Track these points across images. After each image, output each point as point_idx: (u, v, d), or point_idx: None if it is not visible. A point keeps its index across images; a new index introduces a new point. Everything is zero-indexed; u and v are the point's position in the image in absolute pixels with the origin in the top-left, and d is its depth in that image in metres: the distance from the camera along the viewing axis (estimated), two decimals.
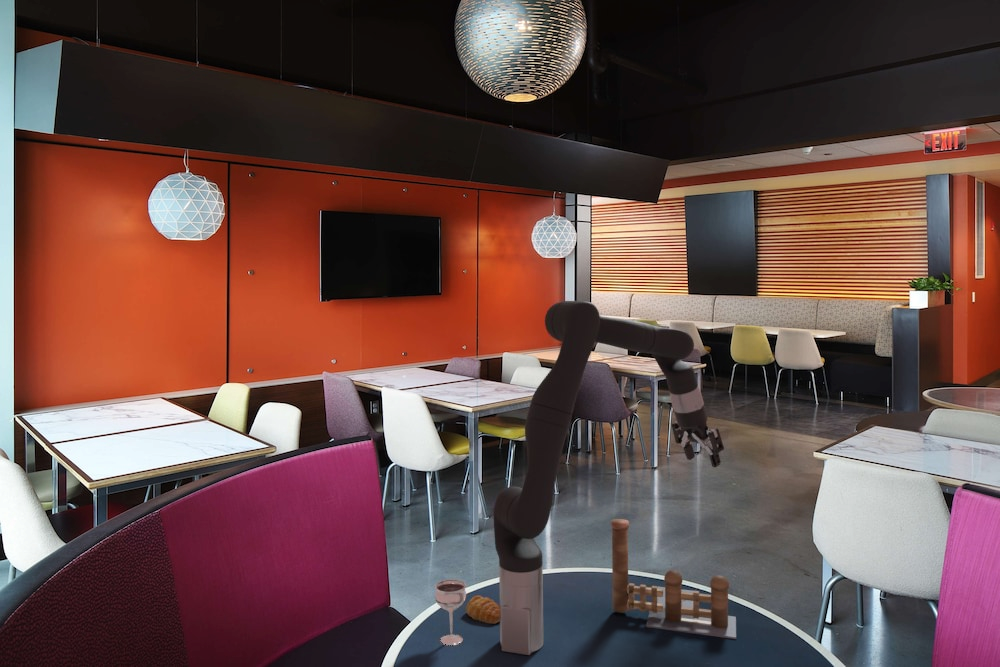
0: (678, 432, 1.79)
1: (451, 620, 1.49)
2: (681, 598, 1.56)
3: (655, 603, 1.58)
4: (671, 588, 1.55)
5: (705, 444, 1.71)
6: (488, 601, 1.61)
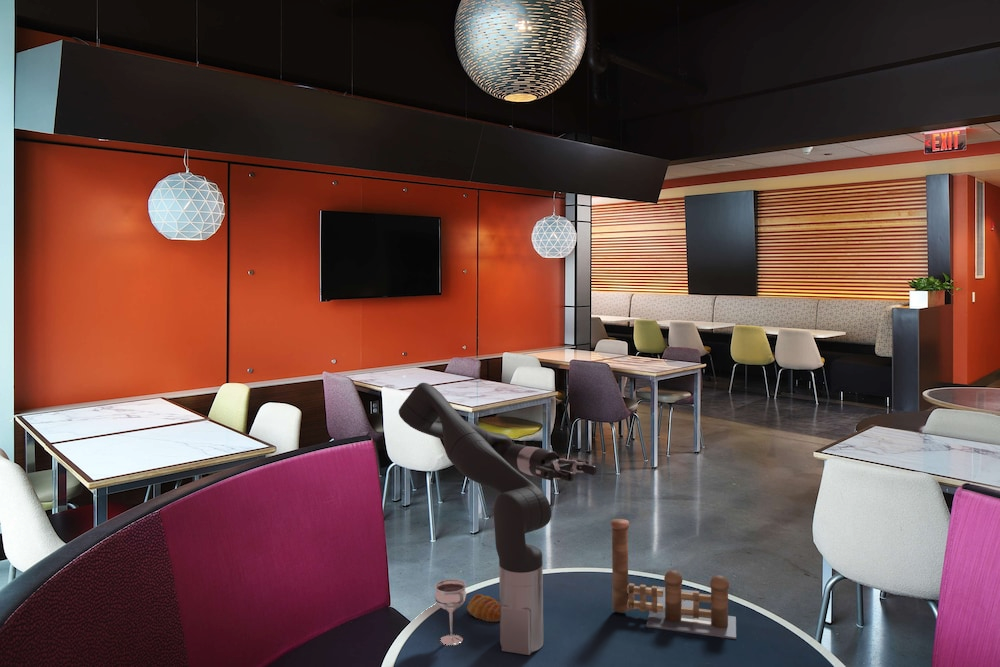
0: (576, 466, 1.81)
1: (451, 620, 1.49)
2: (681, 598, 1.56)
3: (655, 603, 1.58)
4: (671, 588, 1.55)
5: None
6: (489, 599, 1.62)
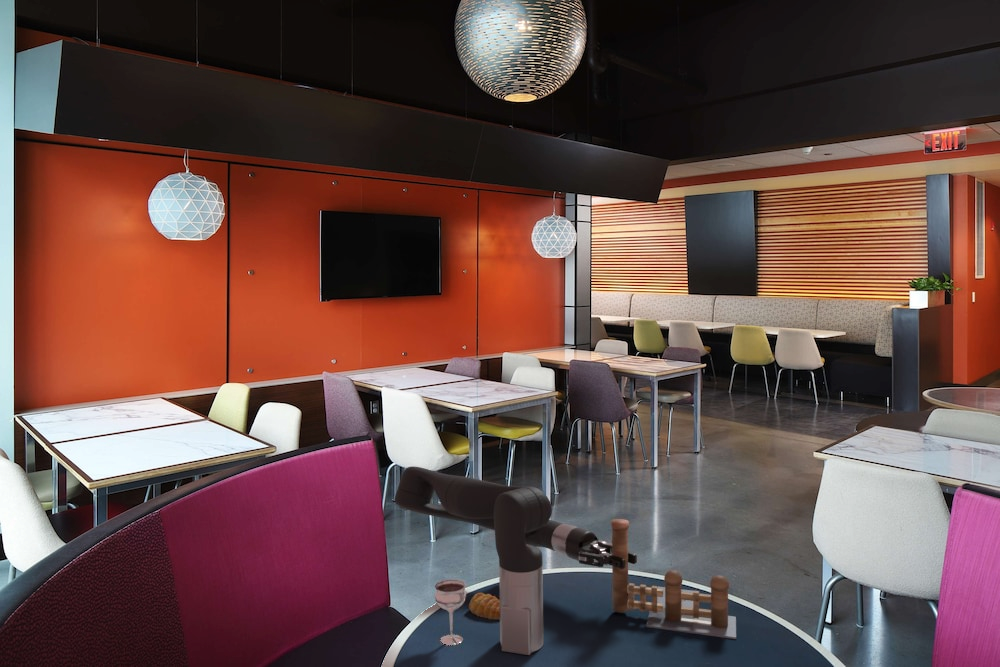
0: None
1: (451, 620, 1.49)
2: (681, 598, 1.56)
3: (655, 603, 1.58)
4: (671, 588, 1.55)
5: None
6: (491, 598, 1.63)
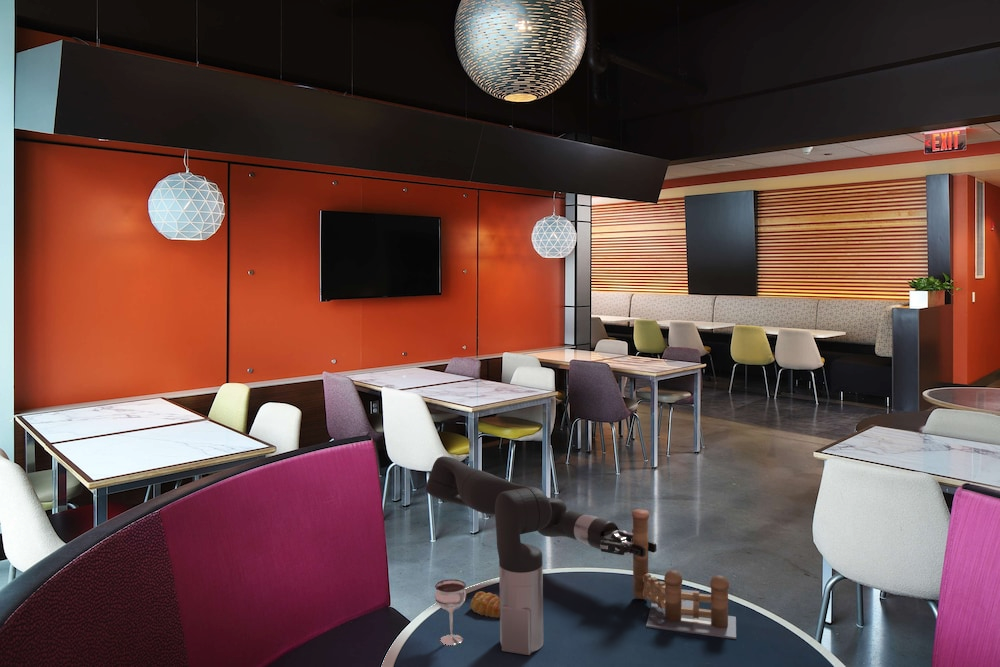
0: None
1: (451, 620, 1.49)
2: (681, 598, 1.56)
3: (660, 598, 1.61)
4: (671, 588, 1.55)
5: None
6: (492, 596, 1.64)
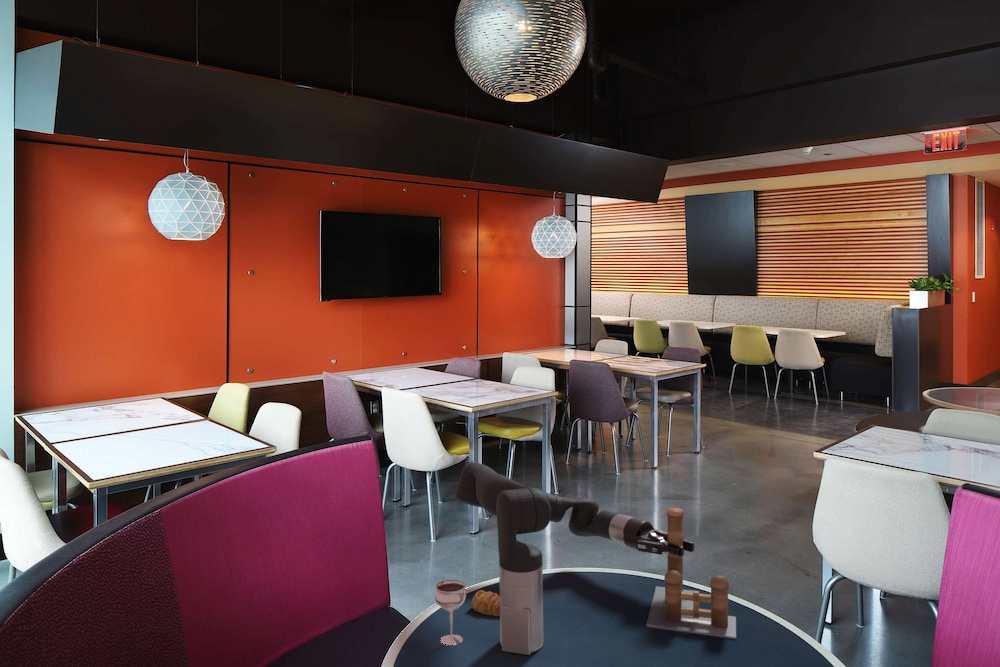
0: None
1: (451, 620, 1.49)
2: (681, 598, 1.56)
3: None
4: (671, 588, 1.55)
5: None
6: (493, 595, 1.65)
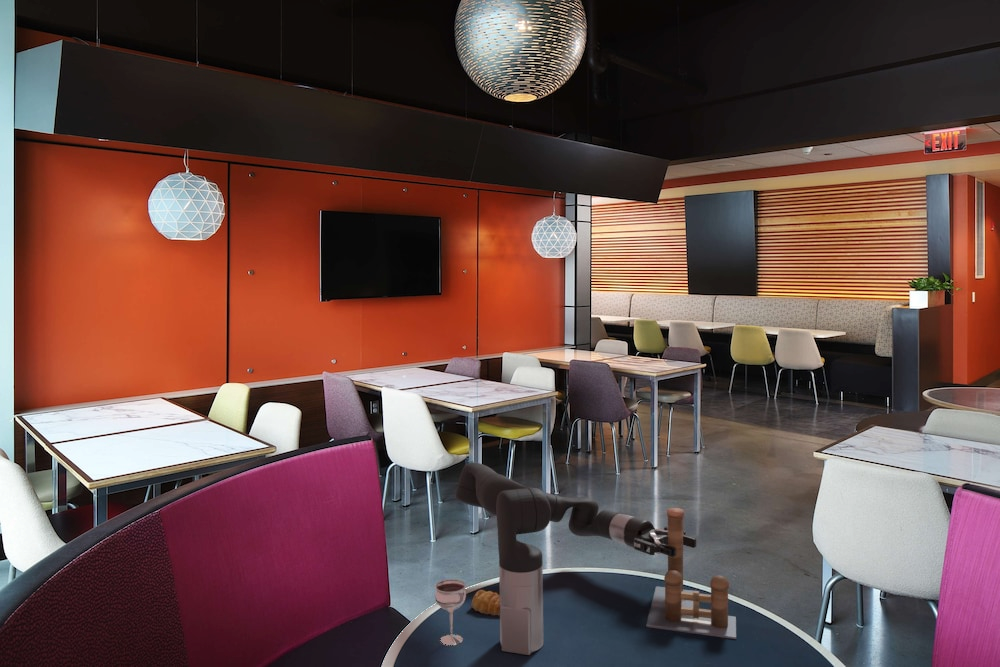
0: None
1: (451, 620, 1.49)
2: (681, 598, 1.56)
3: None
4: (671, 588, 1.55)
5: None
6: (493, 594, 1.65)
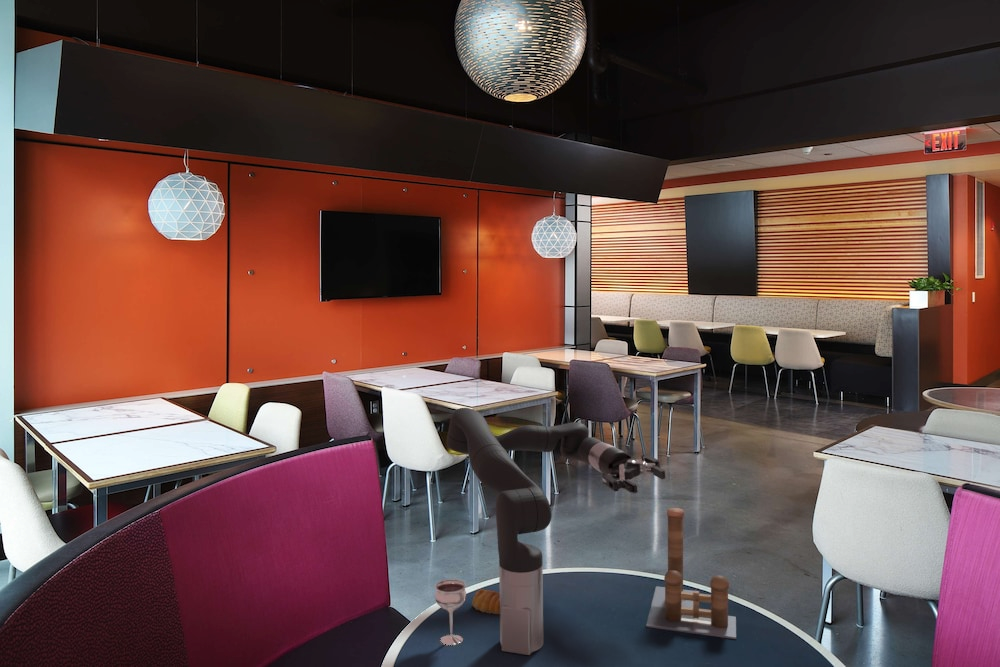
0: None
1: (451, 620, 1.49)
2: (681, 598, 1.56)
3: None
4: (671, 588, 1.55)
5: None
6: (494, 593, 1.65)
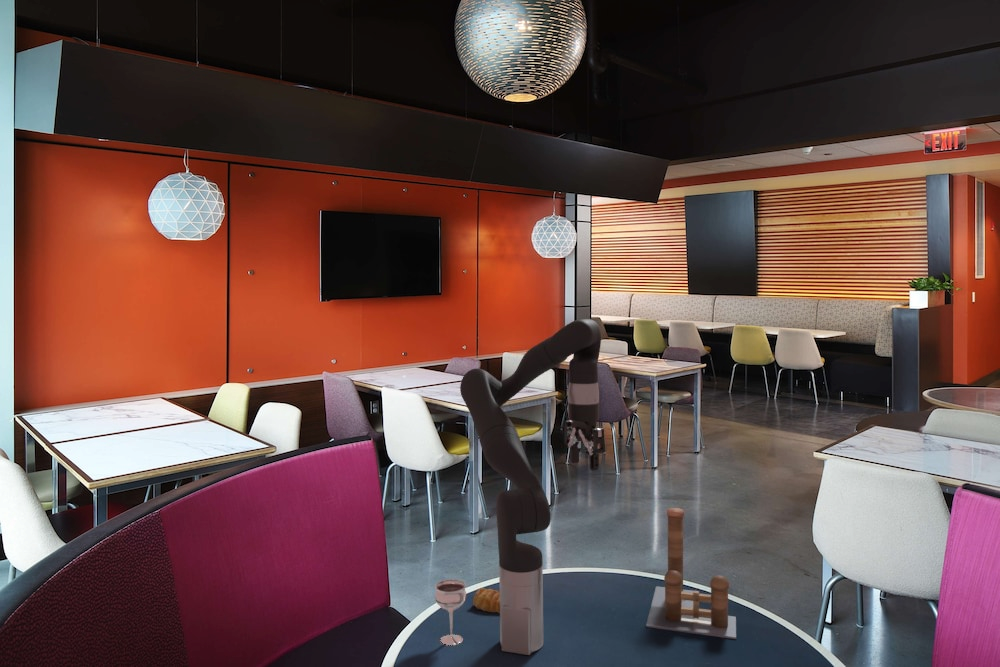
0: None
1: (451, 620, 1.49)
2: (681, 598, 1.56)
3: None
4: (671, 588, 1.55)
5: None
6: (495, 592, 1.66)
